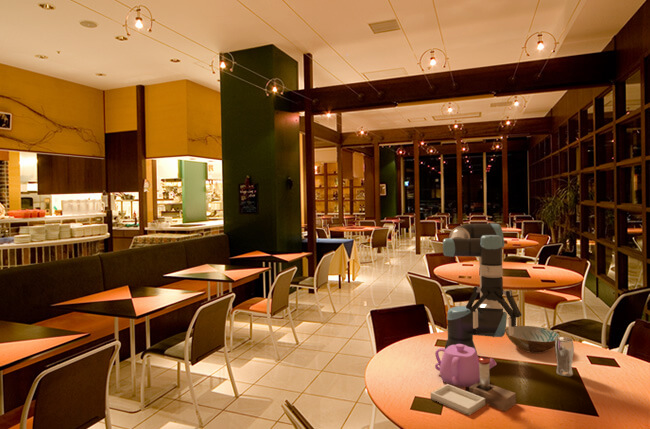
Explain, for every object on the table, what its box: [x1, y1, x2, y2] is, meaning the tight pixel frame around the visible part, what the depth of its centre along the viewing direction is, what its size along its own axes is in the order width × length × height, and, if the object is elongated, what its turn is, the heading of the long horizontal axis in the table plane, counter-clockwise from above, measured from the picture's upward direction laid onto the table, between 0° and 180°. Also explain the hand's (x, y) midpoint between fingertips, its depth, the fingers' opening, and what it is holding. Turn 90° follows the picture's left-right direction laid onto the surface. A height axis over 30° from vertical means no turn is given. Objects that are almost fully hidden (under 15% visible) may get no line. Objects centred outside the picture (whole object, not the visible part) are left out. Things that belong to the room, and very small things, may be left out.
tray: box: [430, 383, 486, 416], centre depth 150 cm, size 16×11×2 cm
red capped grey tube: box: [478, 356, 491, 391], centre depth 152 cm, size 4×4×15 cm
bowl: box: [505, 325, 562, 354], centre depth 201 cm, size 25×25×8 cm
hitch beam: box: [468, 382, 517, 412], centre depth 150 cm, size 14×8×4 cm, turn 39°
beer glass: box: [554, 335, 575, 377], centre depth 171 cm, size 7×7×15 cm
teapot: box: [434, 344, 497, 388], centre depth 170 cm, size 19×21×14 cm
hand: (492, 331), depth 153 cm, fingers open, 13 cm apart
